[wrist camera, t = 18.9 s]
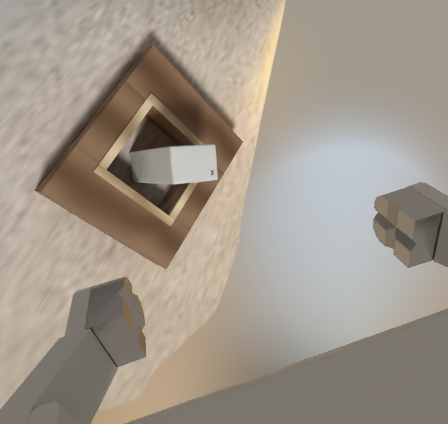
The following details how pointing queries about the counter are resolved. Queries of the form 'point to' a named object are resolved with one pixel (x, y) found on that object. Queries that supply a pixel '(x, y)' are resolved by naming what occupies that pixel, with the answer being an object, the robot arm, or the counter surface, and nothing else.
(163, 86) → the walnut socket board
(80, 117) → the counter surface
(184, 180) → the skincare box
